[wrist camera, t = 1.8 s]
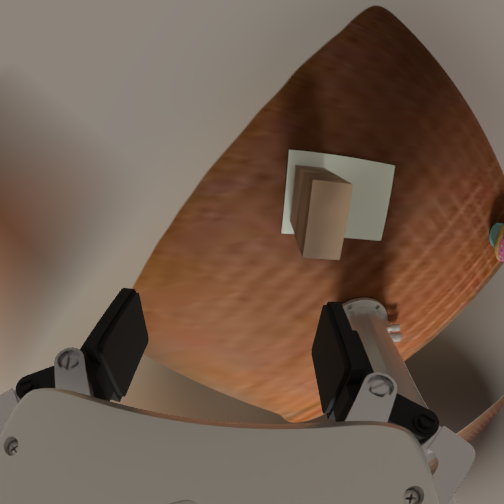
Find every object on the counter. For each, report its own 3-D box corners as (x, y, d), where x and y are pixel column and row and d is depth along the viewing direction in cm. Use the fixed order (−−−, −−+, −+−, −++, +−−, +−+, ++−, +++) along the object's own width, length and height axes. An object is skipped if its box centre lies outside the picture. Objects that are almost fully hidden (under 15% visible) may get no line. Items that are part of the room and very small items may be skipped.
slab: (325, 168, 35) (354, 184, 24) (318, 222, 38) (340, 260, 27) (295, 164, 35) (312, 179, 24) (289, 220, 38) (302, 257, 27)
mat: (393, 165, 35) (394, 165, 34) (379, 239, 40) (380, 240, 39) (288, 149, 34) (289, 149, 34) (281, 232, 39) (281, 233, 39)
